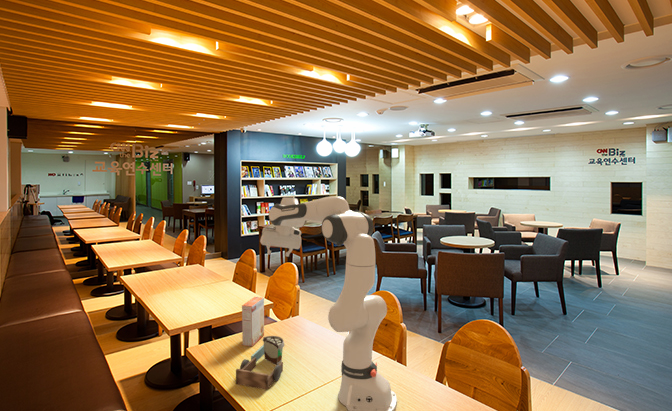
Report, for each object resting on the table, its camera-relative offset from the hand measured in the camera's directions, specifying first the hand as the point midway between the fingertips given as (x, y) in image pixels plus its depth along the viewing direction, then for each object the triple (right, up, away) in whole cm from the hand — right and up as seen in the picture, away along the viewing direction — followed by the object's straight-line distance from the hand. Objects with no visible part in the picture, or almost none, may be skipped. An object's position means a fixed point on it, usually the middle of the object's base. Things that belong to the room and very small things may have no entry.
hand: (278, 255), depth 180 cm
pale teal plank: (-7, -46, -12) cm, 48 cm away
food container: (+1, -47, -13) cm, 49 cm away
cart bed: (-3, -48, -28) cm, 55 cm away
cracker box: (-14, -45, +6) cm, 48 cm away
